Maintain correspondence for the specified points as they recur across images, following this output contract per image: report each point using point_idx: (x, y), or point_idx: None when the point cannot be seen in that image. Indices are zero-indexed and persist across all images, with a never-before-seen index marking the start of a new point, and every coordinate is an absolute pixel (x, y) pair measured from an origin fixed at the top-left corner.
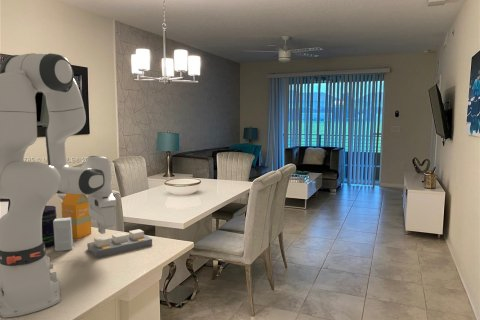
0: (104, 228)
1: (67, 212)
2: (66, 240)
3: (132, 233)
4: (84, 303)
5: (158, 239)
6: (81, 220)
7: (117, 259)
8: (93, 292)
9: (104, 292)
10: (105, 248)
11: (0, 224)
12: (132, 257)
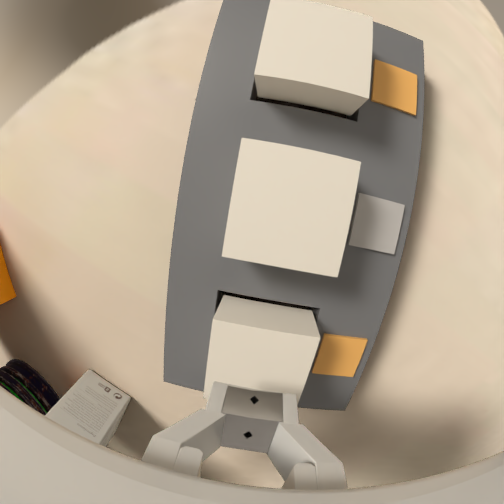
0: (305, 438)
1: None
2: (107, 438)
3: (342, 92)
4: (498, 449)
5: None
6: None
7: (437, 323)
8: (495, 435)
9: None
10: (356, 366)
11: None
12: (475, 256)
